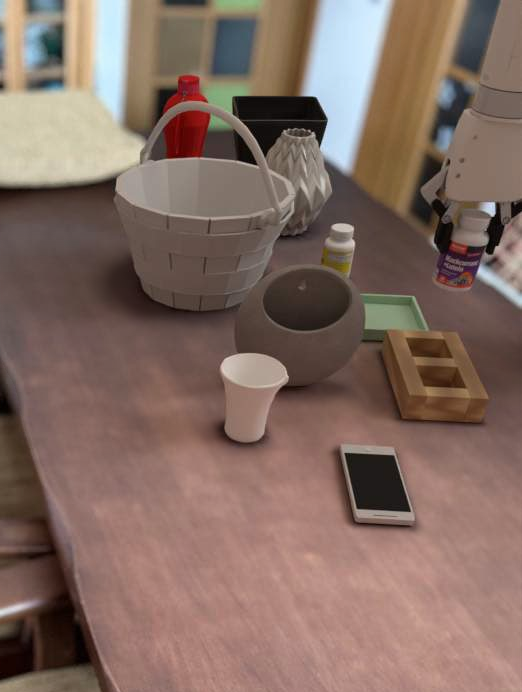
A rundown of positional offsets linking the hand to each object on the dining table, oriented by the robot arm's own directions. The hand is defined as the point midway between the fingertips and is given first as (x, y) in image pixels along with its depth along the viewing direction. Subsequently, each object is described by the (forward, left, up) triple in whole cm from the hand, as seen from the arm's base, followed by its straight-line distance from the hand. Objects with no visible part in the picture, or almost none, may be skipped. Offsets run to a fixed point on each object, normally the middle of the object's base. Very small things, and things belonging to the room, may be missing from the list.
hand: (464, 248), depth 110 cm
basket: (+34, -31, -21) cm, 51 cm away
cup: (+27, +15, -21) cm, 38 cm away
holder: (-1, 0, -21) cm, 21 cm away
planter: (+20, +2, -21) cm, 29 cm away
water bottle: (+38, -71, -21) cm, 84 cm away
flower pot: (+18, -85, -21) cm, 90 cm away
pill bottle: (0, 0, -5) cm, 5 cm away
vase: (+16, -60, -21) cm, 66 cm away
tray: (+5, -20, -21) cm, 30 cm away
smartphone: (+11, +26, -21) cm, 35 cm away
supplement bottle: (+9, -36, -21) cm, 43 cm away
